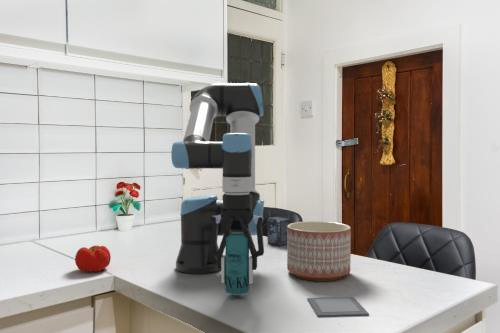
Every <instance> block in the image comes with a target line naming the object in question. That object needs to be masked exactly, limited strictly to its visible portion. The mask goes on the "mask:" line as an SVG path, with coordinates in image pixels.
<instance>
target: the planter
mask: <svg viewBox="0 0 500 333" xmlns="http://www.w3.org/2000/svg"><path fill="white" fill-rule="evenodd" d="M351 236H352V230H351V226H350V225H348V224H346V223H345V224H344V223H340V222H335V221H322V220H320V221H319V220H318V221H317V220H316V221H315V220H313V221H309V220H308V221H307V220H306V221H299V222H297V221H296V222H292V223H291V222H290V224H289V225H288V226H287V245H286V246H287V247H286V248H287V249H286V250H287V252H286V253H287V254H286V256H287V257H286V263H287V264H286V267H287V270H288V272H289V273H291V274H293V275H294V276H295V277H297V278H300V279H302V280H307V281H314V282H315V281H316V282H327V281H329V282H330V281H336V280H339V279H342V278H343V277H345V276H346V275H348V274H350V272H351V256H352V254H351V252H352V251H351V246H352V245H351V244H352V243H351V242H352V241H351V240H352V239H351V238H352V237H351Z"/></svg>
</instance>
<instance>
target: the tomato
mask: <svg viewBox="0 0 500 333" xmlns="http://www.w3.org/2000/svg"><path fill="white" fill-rule="evenodd" d="M111 259H112V258H111V253H110V250H109V249H108V248H107V247H106V246H105V245H93V246H90V247H89V248H88V247H81V248H79V249H78V250H77V251H76V254H75V258H74V261H75V265H76V267H77V269H78V270H80V271H82V272H83V273H91V272H92V273H98V272H100V271H102V270H104V269H105V268H107V267H109V265H110V263H111Z"/></svg>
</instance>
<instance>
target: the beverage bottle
mask: <svg viewBox="0 0 500 333" xmlns="http://www.w3.org/2000/svg"><path fill="white" fill-rule="evenodd" d="M231 229H233V230H242V227H241V224H240V222H239V221H233V223H232V226H231ZM224 252H225V254H224V255H225V282H224V290H225V293H226V294H229V295H233V296H234V295H236V296H237V295H244V294H247V293H248V292H249V291H250V284H249V257H250V250H249V247H248V239H247V237H246V236H245V235H244V233H242V232H232V233H229V235H228V237H226V246H225V250H224Z"/></svg>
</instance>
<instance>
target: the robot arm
mask: <svg viewBox="0 0 500 333" xmlns="http://www.w3.org/2000/svg"><path fill="white" fill-rule="evenodd" d="M189 112H190V115H189V119H188V123H187V125H186V129H185V132H184V135H183V139H182V140H181V141H175V142H173V143H172V146H171V150H170V151H171V155H170V156H171V164H172V166H173V167H174V168H176V169H185V170H188V169H190V170H191V169H192V170H193V169H196V170H197V169H202V170H203V169H218V170H219V169H222V176H221V178H222V181H221V182H222V190H221V191H222V192H223V193H224V194H222V199H219V198H218V195H216V194H206V195H199V196H193V197H188V198H185V199H184V200H183V201H182V202H181V204H180V205H181V206H180V248H179V251H178V255H177V258H176V259H175V260H176V261H175V270H176V271H178V272H180V273H183V274H190V275H191V274H193V275H197V274H198V275H199V274H200V275H201V274H202V275H203V274H210V273H214V272H218V271H220V270H221V274H220V275H221V279H220V280H221V281H220V283H222V284H225V254H224V252H225V250H226V237H228V235H229V233H232V232H242V233H244V235H245V236H246V237H247V239H248V247H249V254H250V255H249V284H251V285H252V284H253V282H254V271H257V268H258V257H260V256H263V255H264V254H265V245H264V235H263V222H264V207H265V200H264V199H262V198H261V196H260V193H259V192H258V191H257V190H256V124H258V123H259V121H260V117H263V116H264V103H263V94H262V90H261V87H260V85H259V84H258V83H252V82H251V83H250V82H245V83H243V82H242V83H238V82H237V83H235V82H234V83H232V82H230V83H229V82H228V83H225V82H224V83H223V82H222V83H221V82H217V83H211V84H209V85H207V86H205V87H202V88H201V89H199V91H198V92H196V93H195V95H193V97H192V99H191V101H190V104H189ZM216 117H225V121H226V122H227V123H228V124H229V125H230V127H229V129H230V132H227V133H224V134H223V136H222V141H210V140H211V135H212V134H211V133H212V127H213V123H214V119H215V118H216ZM233 221H239V222H240V224H241V227H242V230H233V229H231V226H232V223H233ZM219 236H222V238H221V242H220V243H219V244H218V237H219ZM252 236H256V238H257V249H256V246H255V243H254V240H253V237H252Z"/></svg>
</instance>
